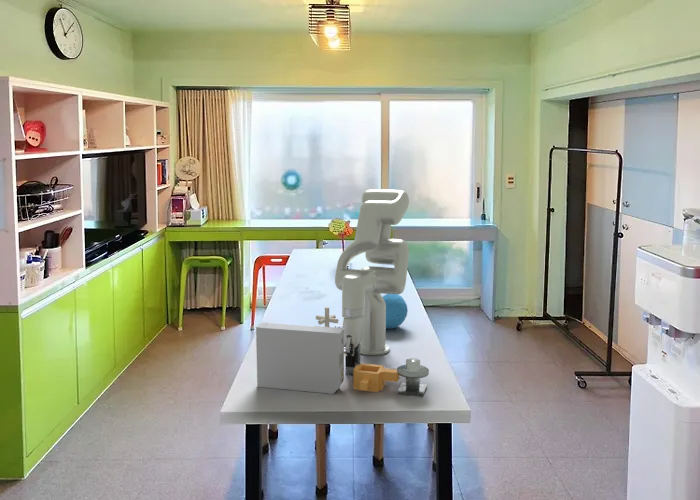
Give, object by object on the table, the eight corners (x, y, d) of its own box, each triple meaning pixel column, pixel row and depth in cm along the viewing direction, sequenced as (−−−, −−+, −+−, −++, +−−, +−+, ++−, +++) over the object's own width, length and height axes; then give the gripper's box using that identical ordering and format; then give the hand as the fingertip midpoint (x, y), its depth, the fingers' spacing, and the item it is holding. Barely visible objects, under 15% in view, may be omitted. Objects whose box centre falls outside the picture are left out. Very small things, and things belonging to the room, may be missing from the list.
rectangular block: (347, 371, 236) (347, 343, 234) (360, 372, 235) (360, 344, 233) (345, 374, 233) (345, 345, 231) (358, 375, 232) (358, 346, 230)
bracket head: (358, 380, 228) (358, 363, 226) (400, 384, 224) (401, 367, 223) (348, 394, 216) (348, 375, 215) (393, 398, 213) (393, 380, 211)
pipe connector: (330, 336, 274) (330, 312, 272) (309, 332, 279) (309, 308, 277) (344, 330, 282) (344, 306, 280) (324, 326, 287) (324, 303, 285)
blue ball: (390, 319, 298) (390, 285, 295) (415, 330, 282) (416, 294, 279) (358, 324, 291) (358, 289, 288) (382, 336, 275) (383, 299, 272)
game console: (263, 380, 227) (261, 322, 224) (344, 387, 221) (344, 327, 218) (256, 387, 222) (255, 327, 218) (339, 394, 216) (340, 333, 212)
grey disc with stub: (399, 383, 225) (400, 354, 223) (430, 386, 223) (431, 356, 221) (393, 395, 216) (394, 364, 214) (425, 398, 213) (426, 367, 211)
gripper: (349, 304, 239) (348, 354, 243) (335, 317, 223) (335, 371, 226) (370, 306, 237) (369, 356, 241) (357, 319, 221) (357, 373, 224)
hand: (352, 362), depth 233 cm, fingers open, 6 cm apart
